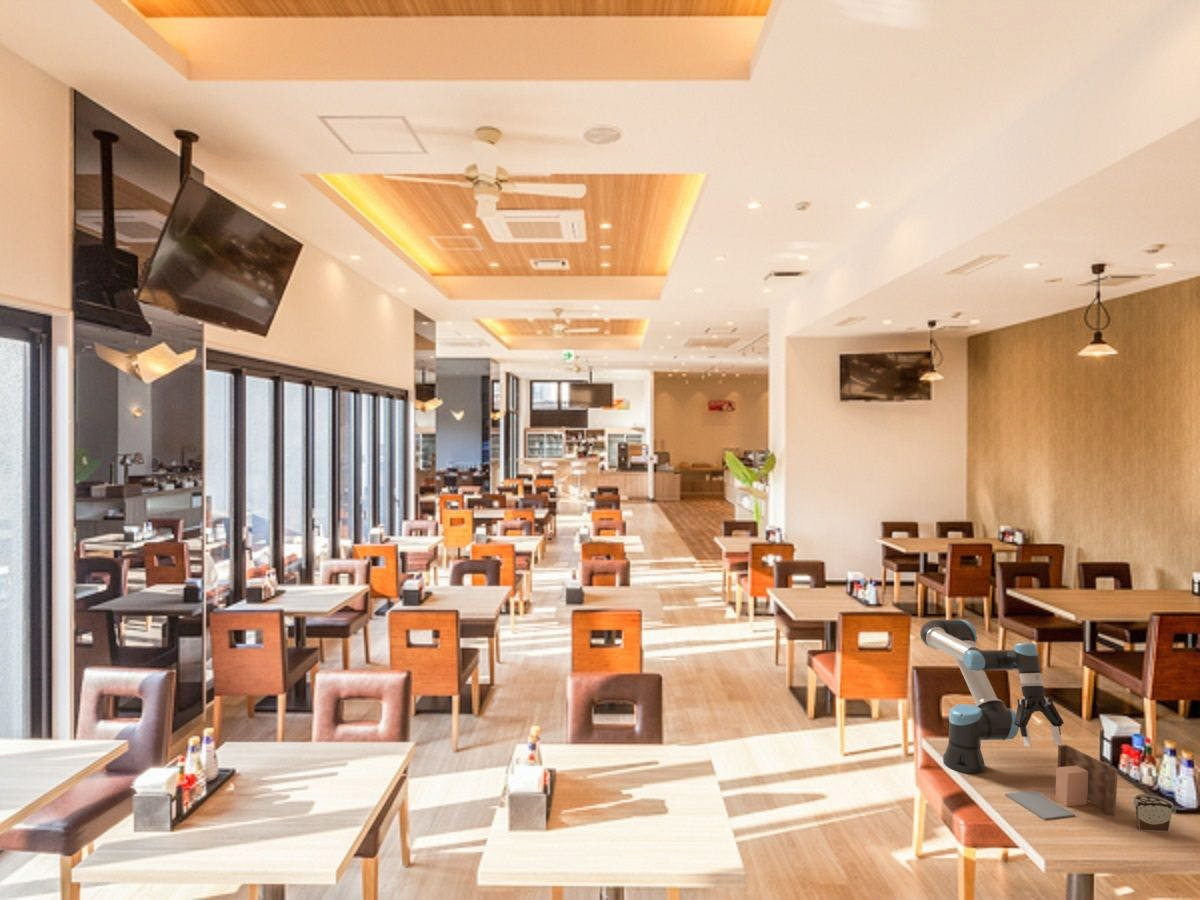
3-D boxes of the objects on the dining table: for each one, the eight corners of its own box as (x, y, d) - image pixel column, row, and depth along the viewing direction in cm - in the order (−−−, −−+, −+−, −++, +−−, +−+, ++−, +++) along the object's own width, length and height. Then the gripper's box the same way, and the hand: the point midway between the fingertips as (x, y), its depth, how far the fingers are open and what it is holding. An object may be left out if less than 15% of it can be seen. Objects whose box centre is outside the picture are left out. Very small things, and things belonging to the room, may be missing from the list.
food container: (1161, 823, 266) (1163, 794, 266) (1173, 832, 260) (1174, 803, 260) (1124, 820, 267) (1125, 792, 267) (1134, 829, 261) (1135, 800, 261)
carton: (1055, 799, 282) (1056, 767, 281) (1075, 797, 284) (1076, 765, 283) (1066, 806, 277) (1067, 773, 276) (1086, 804, 279) (1088, 771, 278)
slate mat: (1005, 795, 284) (1005, 793, 284) (1034, 792, 287) (1034, 790, 287) (1043, 819, 267) (1043, 818, 267) (1074, 816, 270) (1074, 814, 270)
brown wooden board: (1056, 786, 292) (1058, 745, 291) (1064, 785, 293) (1066, 744, 292) (1107, 815, 271) (1109, 770, 270) (1115, 814, 271) (1117, 769, 271)
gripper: (1012, 685, 282) (1023, 747, 276) (1067, 684, 289) (1078, 745, 282) (997, 686, 289) (1007, 746, 283) (1051, 685, 296) (1062, 743, 289)
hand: (1043, 745), depth 282 cm, fingers open, 13 cm apart
